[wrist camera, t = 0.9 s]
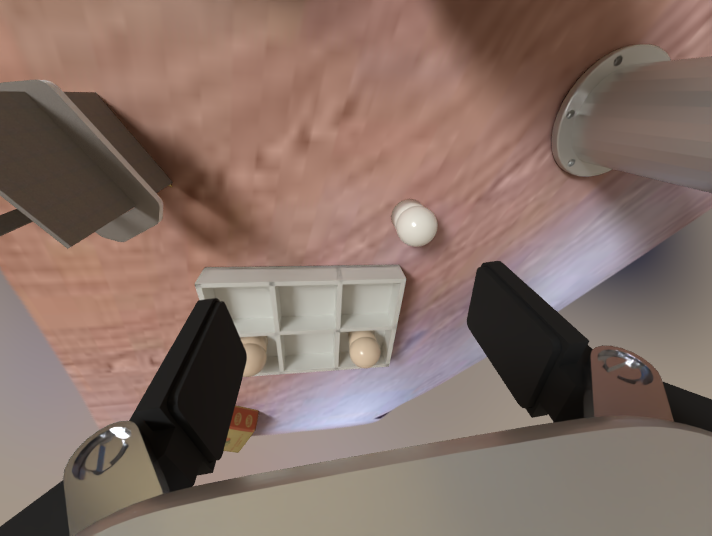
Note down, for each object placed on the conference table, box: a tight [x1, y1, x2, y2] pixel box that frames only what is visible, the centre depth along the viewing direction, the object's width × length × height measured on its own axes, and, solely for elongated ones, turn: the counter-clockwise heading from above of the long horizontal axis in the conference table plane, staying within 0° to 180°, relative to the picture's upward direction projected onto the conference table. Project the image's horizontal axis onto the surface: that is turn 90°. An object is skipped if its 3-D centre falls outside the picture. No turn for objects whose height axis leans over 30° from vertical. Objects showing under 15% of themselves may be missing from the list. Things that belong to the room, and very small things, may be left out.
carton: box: [224, 406, 259, 453], centre depth 48 cm, size 8×16×4 cm, turn 58°
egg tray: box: [195, 265, 406, 376], centre depth 39 cm, size 25×17×4 cm
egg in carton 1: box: [240, 336, 268, 377], centre depth 38 cm, size 5×5×6 cm
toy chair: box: [0, 80, 173, 249], centre depth 20 cm, size 20×25×15 cm
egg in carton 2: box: [348, 330, 381, 368], centre depth 41 cm, size 5×5×6 cm
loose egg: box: [391, 199, 438, 247], centre depth 32 cm, size 5×5×6 cm
